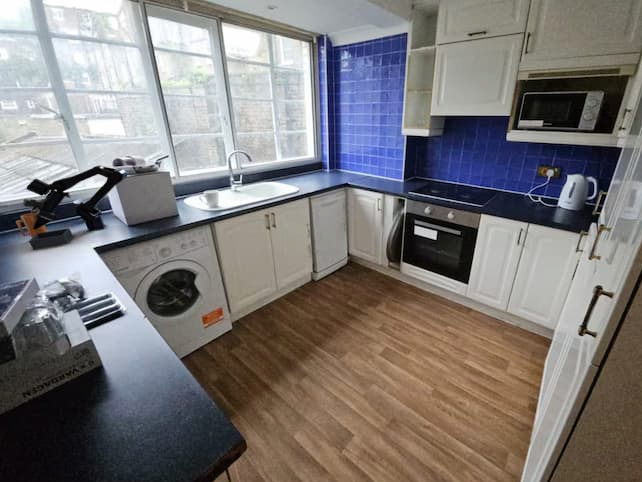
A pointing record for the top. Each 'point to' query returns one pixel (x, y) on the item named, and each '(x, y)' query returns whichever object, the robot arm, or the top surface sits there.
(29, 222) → the tall orange mug
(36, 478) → the top surface
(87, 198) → the plastic cup
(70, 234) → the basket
